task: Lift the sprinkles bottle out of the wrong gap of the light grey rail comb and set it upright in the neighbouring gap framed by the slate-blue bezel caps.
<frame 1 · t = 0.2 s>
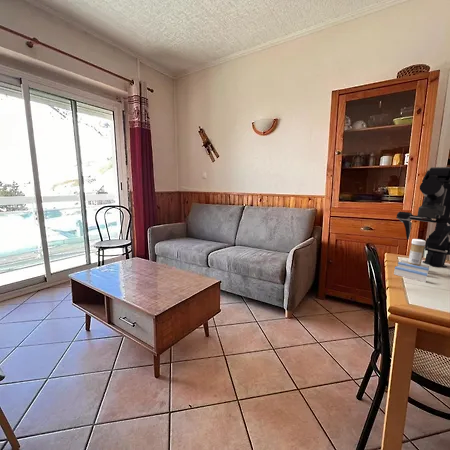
hand: (422, 242, 88), 15 cm above the table, tool pointing down, fingers open, 9 cm apart
sprinkles bottle: (412, 270, 103), on the table
rail comb: (411, 272, 100), on the table
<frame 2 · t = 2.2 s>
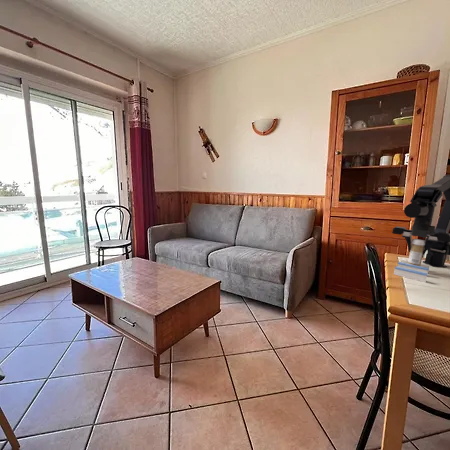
hand: (416, 253, 101), 8 cm above the table, tool pointing down, fingers closed on sprinkles bottle, 4 cm apart
sprinkles bottle: (412, 270, 103), on the table, touching gripper
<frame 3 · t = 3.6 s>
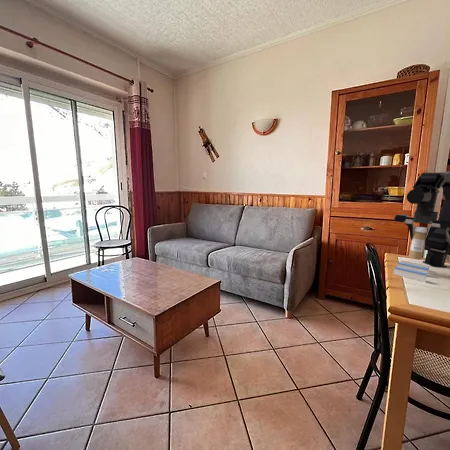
hand: (418, 241, 100), 13 cm above the table, tool pointing down, fingers closed on sprinkles bottle, 4 cm apart
sprinkles bottle: (414, 258, 101), point 5 cm above the table, touching gripper
when the fingers open (9 cm above the table, at t = 5.4 s): sprinkles bottle drops 1 cm, on the table.
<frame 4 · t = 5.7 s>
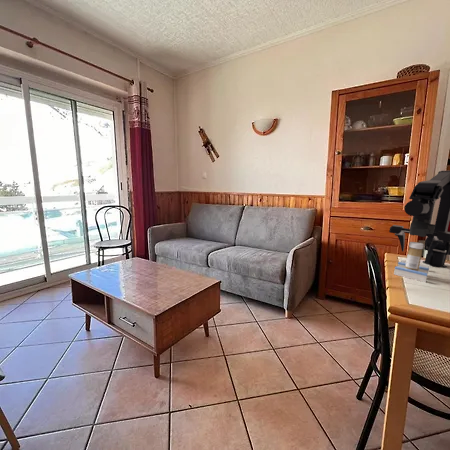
hand: (414, 253, 95), 9 cm above the table, tool pointing down, fingers open, 8 cm apart
sprinkles bottle: (410, 275, 97), on the table
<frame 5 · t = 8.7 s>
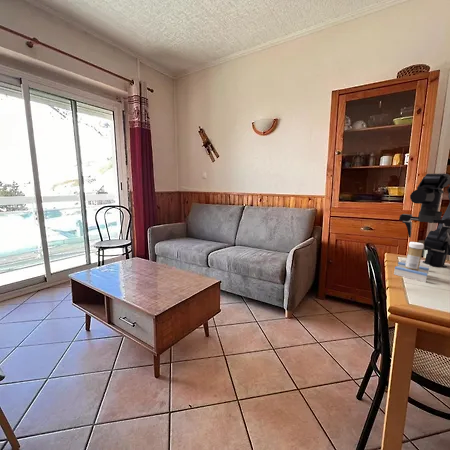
hand: (422, 239, 103), 13 cm above the table, tool pointing down, fingers open, 9 cm apart
nothing on the table moved.
at the end: sprinkles bottle 0.1 cm from the target spot, on the table; sprinkles bottle tilted 0°; the gripper is holding nothing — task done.
